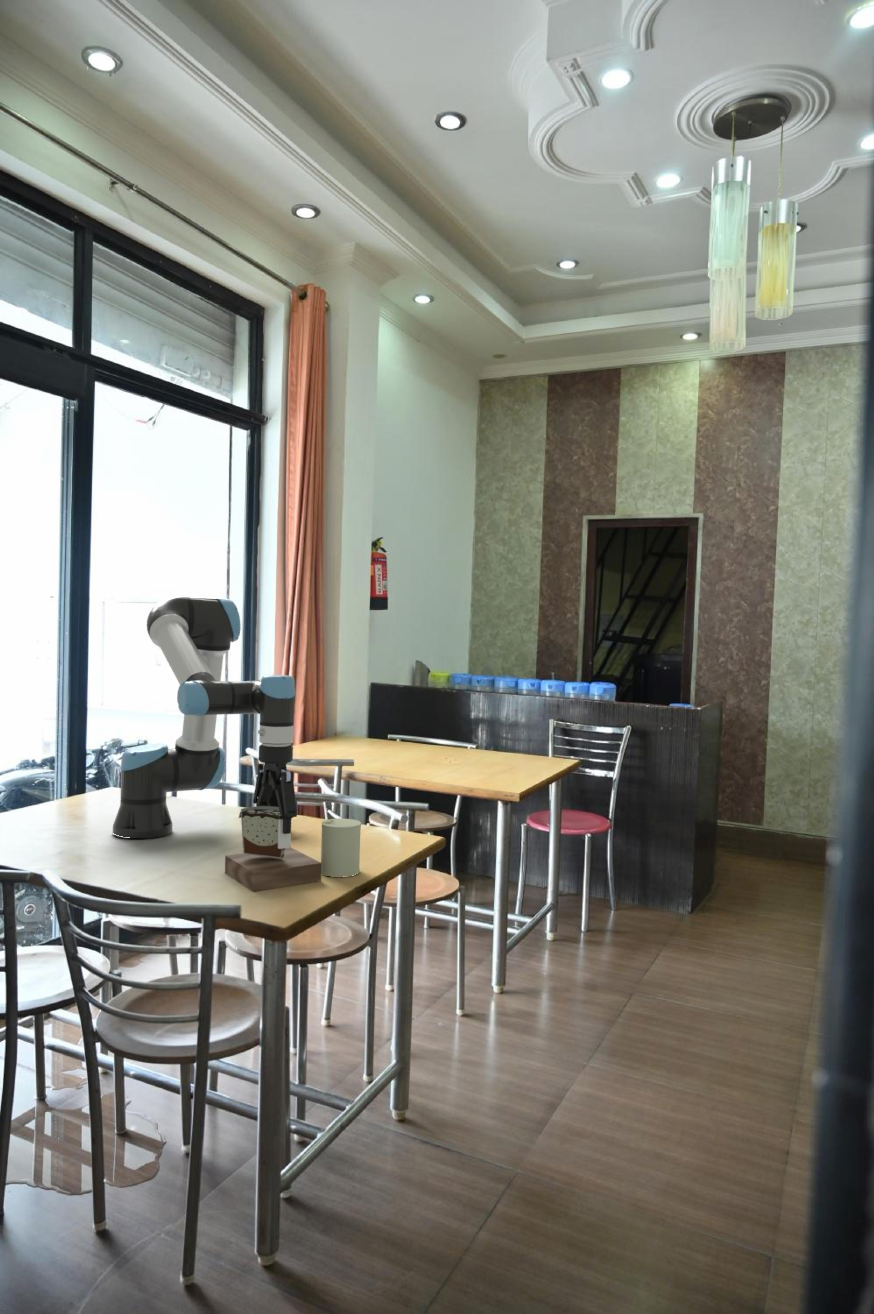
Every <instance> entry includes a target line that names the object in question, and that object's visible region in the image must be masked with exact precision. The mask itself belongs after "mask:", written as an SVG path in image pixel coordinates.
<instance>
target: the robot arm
mask: <svg viewBox="0 0 874 1314" xmlns="http://www.w3.org/2000/svg"><path fill="white" fill-rule="evenodd" d="M146 631H147V634H148V636H149V638H150V640H151V642H152V643H153V644H154V645H155V646H157V647H159V648H160V650H161V652H162V654H163V655H164V657H165V659H166V661H167V663H168V665H169V667H170V669H171V670H172V672H173V674H174V676H175V679H176V680H177V682H178V684H179V686H178V689H177V698H176V699H177V700H176V701H177V704H178V710H179V711H180V713H181V714H183V723H182V732H181V733H182V734H181V736H179V737H178V738H177V739H176V740H175V745H174V748H169V747H168V745H167V744H165V743H147V744H141V745H137V746H133V747H130V748H128V749H126V750H124V752H123V753H122V754H121V763H120V801H119V802H120V804H119V808H118V811H117V814H116V816H115V818H114V821H113V825H112V834H113V833H114V834H116V835H119V836H123V837H130V838H148V839H155V838H156V837H157V838H161V837H166V836H168V835H170V834H172V833H173V821H172V818H171V817H172V816H171V814H170V811H169V808H168V805H167V795H168V794H167V793H171V792H173V793H174V792H185V791H186V792H187V791H202V790H203V791H204V790H207V789H213V788H215V787H216V786H218V785H219V784H220V783H221V781H222V779H223V775H224V774H225V770H226V769H225V768H226V760H225V759H226V755H225V752H224V749H223V748H222V747H220V742H219V741H218V740H217V739H216V738H215V734H216V725H217V717H218V716H217V715H252V714H254V715H259V730H258V731H257V733H258V735H259V743H261V744H260V745H259V746H258V761H259V762H260V763H258V765H257V776H256V781H255V787H254V792H253V800H252V803H253V804H255V807H256V806H269V805H270V803H269V801H270V798H271V795H272V792H273V790H274V791H275V792H276V797H277V802H278V806H279V811H280V816H279V817H278V819H279V824H278V848H279V849H282V848H290V847H291V846H292V841H291V840H292V819H293V818H296V817H297V816H298V810H297V801H296V794H295V793H296V792H295V783H294V781H295V780H294V778H295V773H294V771H293V770H292V771H288V769H287V765H288V763H291V762H293V760H294V759H293V758H294V757H293V756H294V747H293V745H292V743H294V736H295V735H294V732H295V731H294V730H295V725H294V723H295V720H294V718H295V701H296V700H295V699H296V698H295V697H296V688H295V679H294V677H293V676H292V675H283V674H266V675H265V674H264V675H262V677H261V679H260V680H259V679H255V680H253V679H251V680H250V679H249V680H246V681H245V680H244V681H243V680H242V681H239V680H238V681H228V680H227V681H222V680H221V679H222V669H223V660H224V655H225V654H226V653H228V652H229V651H230V650H231V643H234V642H237V641H238V639H239V637H240V634H241V615H240V613H239V610H238V607H237V605H236V604H235V602H234V601H233V600H231V599H230V598H226V597H225V598H224V597H217V596H197V595H179V594H177V595H171V596H168V597H164V598H163V599H161V600H160V601H158V602H157V603H155V605H154V606H153V607H152V609H151V610H150V612H149V613H148V616H147V620H146ZM165 835H166V836H165ZM291 848H292V847H291Z"/></svg>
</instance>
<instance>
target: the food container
mask: <svg viewBox="0 0 874 1314" xmlns="http://www.w3.org/2000/svg"><path fill="white" fill-rule="evenodd" d="M279 816H280V811H279V807H272V806H256V805H255V806H247V807H243V808H241V809H240V811H239V814H238V819H241V821H240V822H241V833H242V834H241V836H242V850H243V851H242V853H243V854H248V855H256V856H264V857H272V858H280V859H282V858H283V857H284V852H285V848H282V849H279V848H278V824H279V819H278V817H279Z"/></svg>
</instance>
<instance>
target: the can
mask: <svg viewBox="0 0 874 1314" xmlns="http://www.w3.org/2000/svg"><path fill="white" fill-rule="evenodd" d="M361 826H362V822H361V821H359V820H358V819H353V818H330V819H324V820H323V821H321V845H320V846H321V847H320V848H321V850H320V855H321V856H320V862H321V876H324V875H325V876H324V877H327V876H332V877H331V878H333V877H343V876H352V875H355V874H357V873H359V872H360V873H361V871H360V870H361V869H360V857H361V856H360V855H361V854H360V853H361V851H360V850H361ZM360 873H359V874H360Z"/></svg>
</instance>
